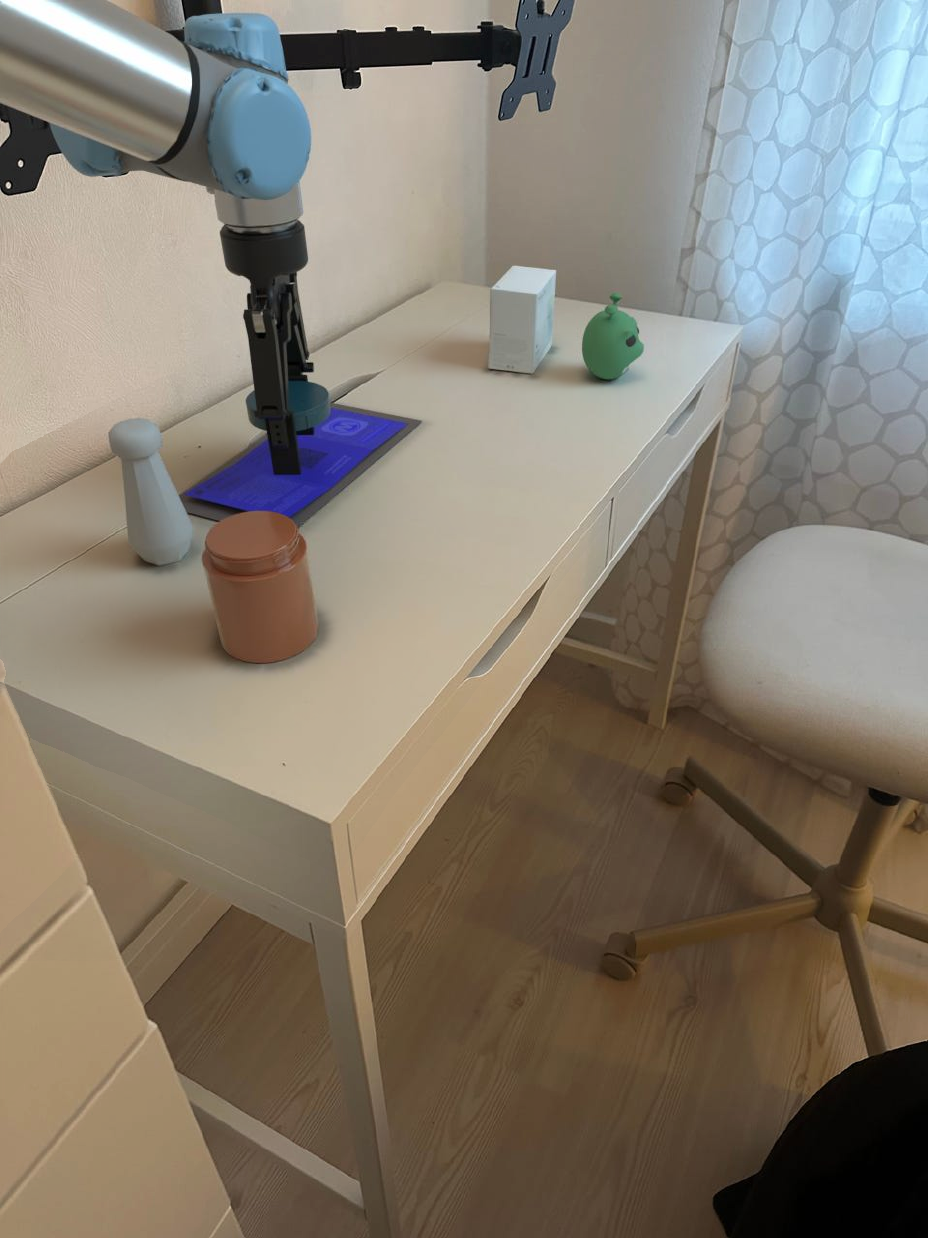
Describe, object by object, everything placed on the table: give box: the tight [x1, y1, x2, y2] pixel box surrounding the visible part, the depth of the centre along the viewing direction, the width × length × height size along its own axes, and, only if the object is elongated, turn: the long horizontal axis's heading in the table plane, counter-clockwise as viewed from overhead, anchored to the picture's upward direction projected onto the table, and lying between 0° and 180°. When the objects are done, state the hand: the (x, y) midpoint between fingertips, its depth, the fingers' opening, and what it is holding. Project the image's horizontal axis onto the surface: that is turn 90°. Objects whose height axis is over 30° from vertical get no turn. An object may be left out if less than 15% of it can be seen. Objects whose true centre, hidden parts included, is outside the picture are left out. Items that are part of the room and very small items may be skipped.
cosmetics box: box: [487, 265, 557, 375], centre depth 117 cm, size 10×6×10 cm, turn 162°
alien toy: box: [581, 292, 645, 380], centre depth 111 cm, size 7×8×10 cm
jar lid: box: [245, 381, 331, 432], centre depth 90 cm, size 8×8×2 cm
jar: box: [201, 511, 320, 664], centre depth 71 cm, size 8×8×10 cm
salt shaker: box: [107, 417, 194, 567], centre depth 80 cm, size 6×6×13 cm
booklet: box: [183, 411, 404, 518], centre depth 97 cm, size 12×25×1 cm, turn 154°
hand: (295, 452), depth 94 cm, fingers closed on jar lid, 8 cm apart
